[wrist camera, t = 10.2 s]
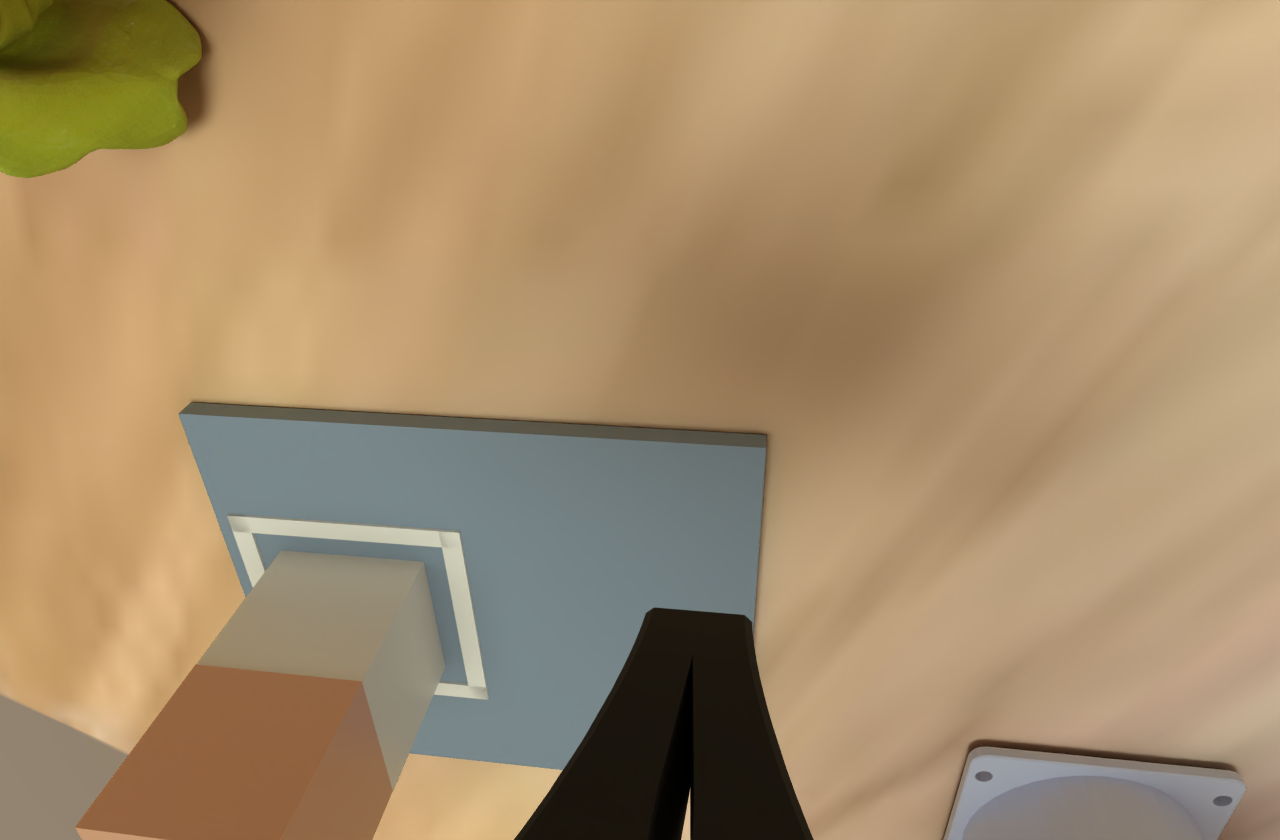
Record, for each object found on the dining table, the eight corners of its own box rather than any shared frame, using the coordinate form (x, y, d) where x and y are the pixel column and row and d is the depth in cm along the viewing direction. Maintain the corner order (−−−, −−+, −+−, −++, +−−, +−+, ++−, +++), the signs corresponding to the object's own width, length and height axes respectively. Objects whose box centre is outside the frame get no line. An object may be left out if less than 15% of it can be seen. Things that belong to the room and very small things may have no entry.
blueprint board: (742, 773, 29) (741, 791, 29) (306, 727, 31) (297, 743, 31) (766, 435, 22) (765, 450, 21) (190, 402, 24) (176, 415, 23)
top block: (392, 790, 24) (319, 963, 20) (241, 773, 24) (144, 937, 20) (362, 681, 21) (272, 853, 18) (195, 664, 22) (74, 828, 18)
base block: (445, 666, 27) (393, 791, 24) (314, 654, 28) (242, 774, 24) (423, 561, 25) (361, 682, 21) (281, 550, 26) (195, 665, 22)
